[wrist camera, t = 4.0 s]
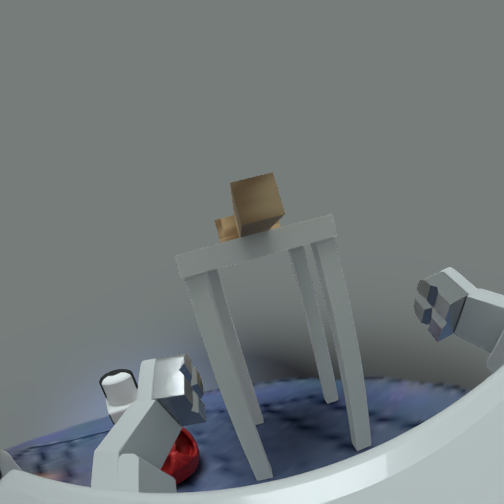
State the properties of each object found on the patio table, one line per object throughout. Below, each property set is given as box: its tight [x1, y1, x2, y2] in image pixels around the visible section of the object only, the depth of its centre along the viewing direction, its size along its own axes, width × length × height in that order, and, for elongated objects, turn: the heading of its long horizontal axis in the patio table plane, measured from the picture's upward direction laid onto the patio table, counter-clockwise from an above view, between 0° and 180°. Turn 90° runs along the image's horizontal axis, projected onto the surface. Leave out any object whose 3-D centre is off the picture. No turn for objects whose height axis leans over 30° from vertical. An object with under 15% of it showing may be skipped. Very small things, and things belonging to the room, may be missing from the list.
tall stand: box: [175, 214, 371, 481], centre depth 31 cm, size 14×15×26 cm
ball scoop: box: [215, 173, 285, 243], centre depth 25 cm, size 6×20×3 cm, turn 2°
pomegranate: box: [161, 427, 199, 484], centre depth 27 cm, size 10×10×9 cm
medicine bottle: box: [99, 369, 138, 425], centre depth 37 cm, size 7×7×12 cm
